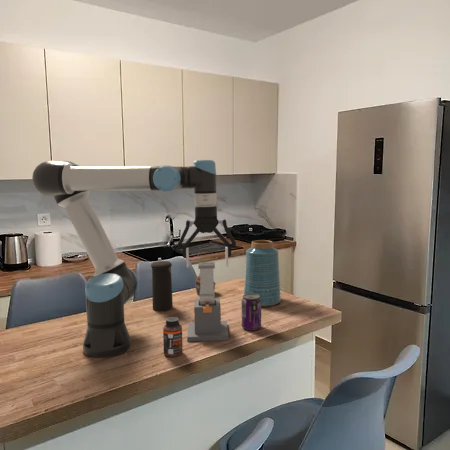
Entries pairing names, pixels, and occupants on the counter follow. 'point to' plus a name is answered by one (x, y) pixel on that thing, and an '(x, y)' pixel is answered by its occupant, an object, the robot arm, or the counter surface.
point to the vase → (263, 272)
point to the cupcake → (197, 284)
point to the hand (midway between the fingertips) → (207, 266)
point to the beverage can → (251, 311)
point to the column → (206, 283)
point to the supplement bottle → (172, 337)
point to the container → (161, 285)
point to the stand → (207, 323)
